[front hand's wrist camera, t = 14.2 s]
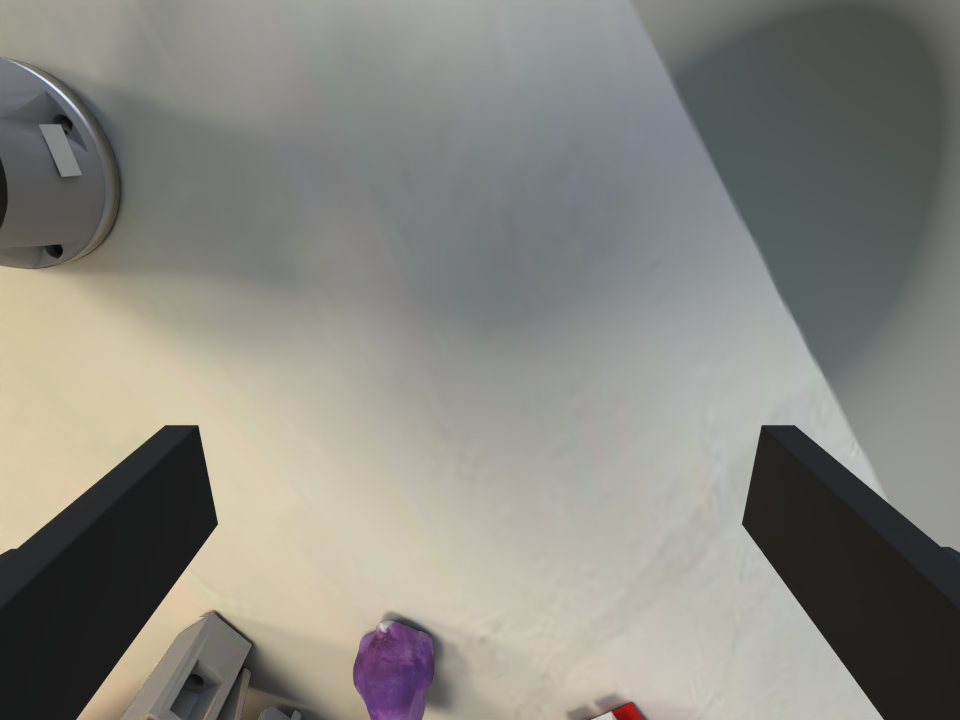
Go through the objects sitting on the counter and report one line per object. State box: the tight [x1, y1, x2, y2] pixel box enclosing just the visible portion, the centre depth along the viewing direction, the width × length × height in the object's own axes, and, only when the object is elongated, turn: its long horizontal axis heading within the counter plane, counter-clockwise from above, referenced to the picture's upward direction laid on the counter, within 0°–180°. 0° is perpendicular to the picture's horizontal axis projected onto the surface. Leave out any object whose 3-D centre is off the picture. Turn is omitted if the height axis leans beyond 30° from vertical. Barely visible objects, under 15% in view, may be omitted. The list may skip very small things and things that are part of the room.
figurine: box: [353, 621, 434, 720], centre depth 52 cm, size 9×10×15 cm
